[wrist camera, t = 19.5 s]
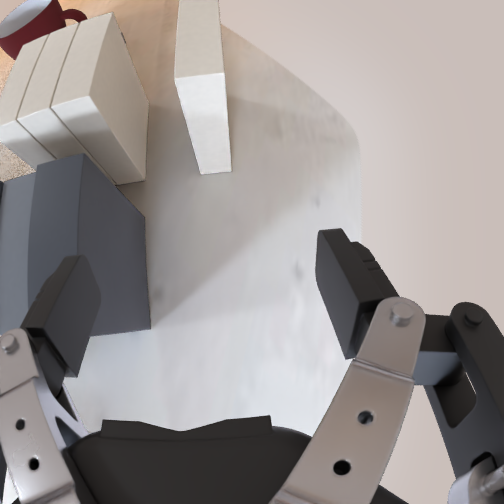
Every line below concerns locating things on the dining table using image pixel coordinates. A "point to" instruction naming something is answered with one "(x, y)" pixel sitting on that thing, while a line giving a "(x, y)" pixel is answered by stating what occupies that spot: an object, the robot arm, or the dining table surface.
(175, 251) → the dining table surface
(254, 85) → the dining table surface
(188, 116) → the white book
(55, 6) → the mug
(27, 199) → the grey books
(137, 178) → the white books
